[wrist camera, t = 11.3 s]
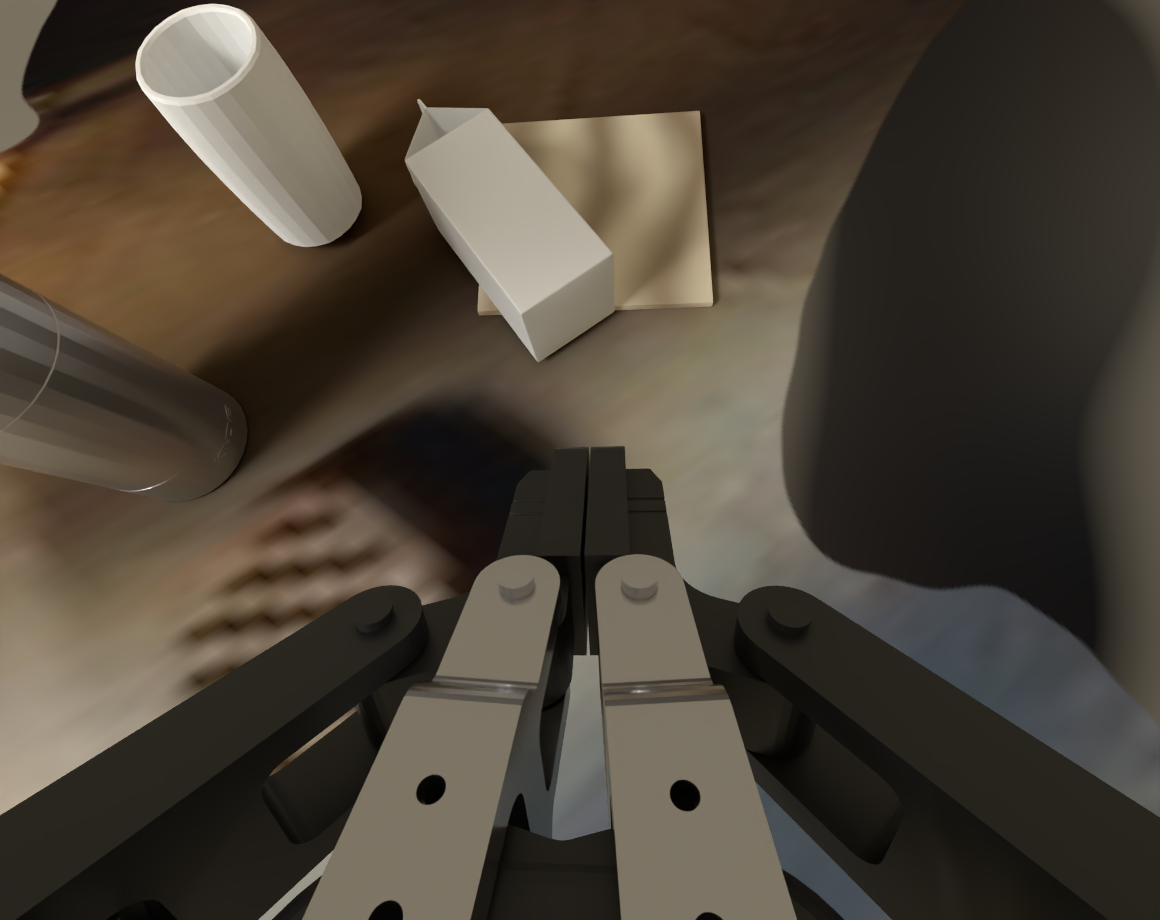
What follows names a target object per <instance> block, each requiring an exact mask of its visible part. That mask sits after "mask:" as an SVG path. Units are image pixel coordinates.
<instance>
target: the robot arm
mask: <svg viewBox="0 0 1160 920" xmlns="http://www.w3.org/2000/svg"><path fill="white" fill-rule="evenodd" d="M246 442H247V423H246V417H245V415H244V412H243V410H242V408H241V406H240V405H239V404H238V402H237V401H236V400H235V399H234V398H233V397H232V396H230V395H229V394H228V393H226V392H225V391H223V390H221V389H219V388H217V387H215V386H213V385H211V384H209V383H207V382H206V381H204V380H202V379H200V378H198V377H196V376H194V375H192V374H190V373H189V372H187V371H185V370H183V369H181V368H179V367H178V366H176V365H174V364H172V363H170V362H168V361H166V360H164V359H162V358H160V357H158V356H157V355H155V354H153V353H151V352H149V351H147V350H145V349H143V348H141V347H139V346H138V345H136V344H134V343H132V342H130V341H128V340H126V339H124V338H122V337H120V336H119V335H117V334H115V333H113V332H111V331H109V330H107V329H105V328H103V327H101V326H100V325H98V324H96V323H94V322H92V321H90V320H88V319H86V318H84V317H82V316H81V315H79V314H77V313H75V312H73V311H71V310H69V309H67V308H65V307H63V306H62V305H60V304H58V303H56V302H54V301H52V300H50V299H48V298H46V297H44V296H43V295H41V294H39V293H37V292H35V291H33V290H31V289H29V288H27V287H25V286H23V285H21V284H19V283H17V282H15V281H13V280H12V279H10V278H8V277H6V276H4V275H2V274H0V464H3V465H8V466H12V467H17V468H22V469H26V470H31V471H35V472H40V473H44V474H49V475H53V476H58V477H63V478H67V479H72V480H76V481H81V482H85V483H90V484H94V485H99V486H104V487H108V488H113V489H117V490H121V491H125V492H130V493H135V494H139V495H144V496H149V497H153V498H158V499H163V500H167V501H187V500H192V499H196V498H198V497H201V496H203V495H205V494H208V493H209V492H211V491H212V490H214V489H215V488H217V487H218V486H220V485H221V484H222V483H223V482H224V481H225V480H226V479H227V478H228V477H229V476H230V475H231V473H232V472H233V471H234V469H235V468H236V467H237V465H238V463H239V461H240V459H241V457H242V455H243V453H244V449H245V446H246ZM588 627H589V644H590V655H598V656H599V676H600V700H601V714H602V729H603V744H604V758H605V773H606V788H607V802H608V818H609V829H608V830H604V831H601V832H597V833H593V834H589V835H586V836H582V837H578V838H575V839H571V840H565V841H560V840H554V839H552V816H553V804H554V796H555V790H556V784H557V777H558V771H559V764H560V758H561V751H562V745H563V738H564V732H565V726H566V719H567V713H568V706H569V700H570V682H571V678H572V669H573V655H586V653H587V631H588ZM353 707H356V710H357V711H356V712H355V713H354V714H352V715H351V716H350V717H348V718H347V719H346V720H345V721H343V722H342V723H341V724H339V725H338V726H337V727H336V728H334V729H333V730H332V731H330V732H329V733H328V734H326V735H325V736H324V737H323V738H321V739H320V740H319V741H317V742H316V743H315V744H314V745H312V746H311V747H310V748H308V749H307V750H306V751H305V752H303V753H302V754H301V755H299V756H298V757H297V758H295V759H294V760H293V761H292V762H290V763H289V764H288V765H286V766H285V767H284V768H283V769H281V770H280V771H278V772H277V773H275V774H273V775H271V776H269V775H270V774H271V773H272V771H273V770H274V769H275V768H276V767H277V766H278V765H279V764H280V763H282V762H283V761H284V760H285V759H287V758H288V757H289V756H291V755H292V754H293V753H294V752H296V751H297V750H298V749H300V748H301V747H302V746H304V745H305V744H306V743H308V742H309V741H310V740H311V739H313V738H314V737H315V736H317V735H318V734H319V733H321V732H322V731H323V730H325V729H326V728H327V727H328V726H330V725H331V724H332V723H334V722H335V721H336V720H338V719H339V718H340V717H342V716H343V715H344V714H345V713H347V712H348V711H349V710H351V709H352V708H353ZM268 776H269V777H268ZM755 782H756V783H757V784H758V785H759V786H760V787H761V788H762V789H763V790H764V791H765V792H766V793H767V794H768V795H769V796H770V797H771V798H772V799H773V800H774V801H775V802H776V803H777V804H778V805H779V806H780V807H781V808H782V809H783V810H784V811H785V812H786V813H787V814H788V815H789V816H790V817H791V818H792V819H793V820H794V821H795V822H796V823H797V824H798V825H799V826H800V827H801V828H802V829H803V830H804V831H805V832H806V833H807V834H808V835H809V836H810V837H811V838H812V839H813V840H814V841H815V842H816V843H817V844H818V845H819V846H820V847H821V848H822V849H823V850H824V851H825V852H826V853H827V854H828V855H829V856H830V857H831V858H832V859H833V860H834V861H835V862H836V863H837V864H838V865H839V866H840V867H841V868H842V869H843V870H844V871H845V872H846V873H847V874H848V876H849V877H850V878H851V879H852V880H853V881H854V882H855V883H856V884H857V885H858V886H859V887H860V888H861V889H862V890H863V891H864V892H865V893H866V894H867V895H868V896H869V897H870V898H871V899H872V900H873V901H874V902H875V903H876V904H877V905H878V906H879V907H880V908H881V909H882V910H883V911H884V912H885V913H886V914H887V915H888V916H889V917H890V918H891V919H892V920H1160V817H1158V816H1157V815H1155V814H1154V813H1152V812H1150V811H1149V810H1147V809H1146V808H1144V807H1143V806H1141V805H1139V804H1138V803H1136V802H1135V801H1133V800H1132V799H1130V798H1129V797H1127V796H1125V795H1124V794H1122V793H1121V792H1119V791H1118V790H1116V789H1114V788H1113V787H1111V786H1110V785H1108V784H1107V783H1105V782H1103V781H1102V780H1100V779H1099V778H1097V777H1096V776H1094V775H1093V774H1091V773H1089V772H1088V771H1086V770H1085V769H1083V768H1082V767H1080V766H1078V765H1077V764H1075V763H1074V762H1072V761H1071V760H1069V759H1068V758H1066V757H1064V756H1063V755H1061V754H1060V753H1058V752H1057V751H1055V750H1053V749H1052V748H1050V747H1049V746H1047V745H1046V744H1044V743H1043V742H1041V741H1039V740H1038V739H1036V738H1035V737H1033V736H1032V735H1030V734H1028V733H1027V732H1025V731H1024V730H1022V729H1021V728H1019V727H1018V726H1016V725H1014V724H1013V723H1011V722H1010V721H1008V720H1007V719H1005V718H1003V717H1002V716H1000V715H999V714H997V713H996V712H994V711H993V710H991V709H989V708H988V707H986V706H985V705H983V704H982V703H980V702H978V701H977V700H975V699H974V698H972V697H971V696H969V695H968V694H966V693H964V692H963V691H961V690H960V689H958V688H957V687H955V686H953V685H952V684H950V683H949V682H947V681H946V680H944V679H943V678H941V677H939V676H938V675H936V674H935V673H933V672H932V671H930V670H928V669H927V668H925V667H924V666H922V665H921V664H919V663H918V662H916V661H914V660H913V659H911V658H910V657H908V656H907V655H905V654H903V653H902V652H900V651H899V650H897V649H896V648H894V647H893V646H891V645H889V644H888V643H886V642H885V641H883V640H882V639H880V638H878V637H877V636H875V635H874V634H872V633H871V632H869V631H868V630H866V629H864V628H863V627H861V626H860V625H858V624H857V623H855V622H853V621H852V620H850V619H849V618H847V617H846V616H844V615H843V614H841V613H839V612H838V611H836V610H835V609H833V608H832V607H830V606H828V605H827V604H825V603H824V602H822V601H821V600H819V599H817V598H816V597H814V596H812V595H810V594H808V593H806V592H804V591H801V590H798V589H795V588H790V587H785V586H766V587H761V588H758V589H755V590H753V591H751V592H749V593H748V594H747V595H745V596H744V597H743V599H742V600H741V601H740V603H736V602H732V601H728V600H724V599H720V598H716V597H713V596H709V595H707V594H705V593H702V592H700V591H698V590H697V589H695V588H693V587H692V586H691V585H689V584H688V583H687V582H686V581H685V580H684V579H683V578H682V576H681V575H680V573H679V572H678V570H677V569H676V566H675V562H674V555H673V549H672V543H671V536H670V530H669V524H668V517H667V514H666V505H665V501H664V492H663V486H662V482H661V480H660V479H659V478H658V477H657V476H656V475H655V474H654V473H653V472H652V471H651V469H626V465H625V447H624V446H615V447H591V455H590V461H589V448H588V447H570V448H555V449H554V454H553V459H552V465H551V470H549V471H530V472H529V473H528V474H527V475H526V476H525V477H524V478H523V479H522V480H521V481H520V482H519V483H518V484H517V488H516V491H515V495H514V499H513V503H512V506H511V510H510V516H509V517H508V521H507V524H506V528H505V532H504V535H503V539H502V543H501V546H500V550H499V554H498V557H497V561H496V562H494V563H492V564H490V565H489V566H487V567H486V568H485V569H484V570H483V571H481V573H480V574H479V575H478V576H477V578H476V580H475V582H474V584H473V587H472V589H471V591H469V592H468V593H465V594H463V595H460V596H458V597H454V598H451V599H447V600H443V601H439V602H435V603H431V604H427V605H423V606H422V604H421V600H420V599H419V597H418V595H417V594H416V593H415V592H413V591H412V590H410V589H408V588H405V587H401V586H392V585H389V586H380V587H375V588H372V589H368V590H365V591H363V592H361V593H359V594H357V595H355V596H353V597H351V598H350V599H348V600H346V601H345V602H343V603H342V604H340V605H338V606H337V607H335V608H334V609H332V610H330V611H329V612H327V613H326V614H324V615H322V616H321V617H319V618H317V619H316V620H314V621H313V622H311V623H309V624H308V625H306V626H305V627H303V628H301V629H300V630H298V631H297V632H295V633H293V634H292V635H290V636H288V637H287V638H285V639H284V640H282V641H280V642H279V643H277V644H276V645H274V646H272V647H271V648H269V649H268V650H266V651H264V652H263V653H261V654H259V655H258V656H256V657H255V658H253V659H251V660H250V661H248V662H247V663H245V664H243V665H242V666H240V667H239V668H237V669H235V670H234V671H232V672H230V673H229V674H227V675H226V676H224V677H222V678H221V679H219V680H218V681H216V682H214V683H213V684H211V685H210V686H208V687H206V688H205V689H203V690H201V691H200V692H198V693H197V694H195V695H193V696H192V697H190V698H189V699H187V700H185V701H184V702H182V703H181V704H179V705H177V706H176V707H174V708H172V709H171V710H169V711H168V712H166V713H164V714H163V715H161V716H160V717H158V718H156V719H155V720H153V721H152V722H150V723H148V724H147V725H145V726H143V727H142V728H140V729H139V730H137V731H135V732H134V733H132V734H131V735H129V736H127V737H126V738H124V739H123V740H121V741H119V742H118V743H116V744H114V745H113V746H111V747H110V748H108V749H106V750H105V751H103V752H102V753H100V754H98V755H97V756H95V757H94V758H92V759H90V760H89V761H87V762H86V763H84V764H82V765H81V766H79V767H77V768H76V769H74V770H73V771H71V772H69V773H68V774H66V775H65V776H63V777H61V778H60V779H58V780H57V781H55V782H53V783H52V784H50V785H48V786H47V787H45V788H44V789H42V790H40V791H39V792H37V793H36V794H34V795H32V796H31V797H29V798H28V799H26V800H24V801H23V802H21V803H19V804H18V805H16V806H15V807H13V808H11V809H10V810H8V811H7V812H5V813H3V814H2V815H0V920H258V919H259V918H260V917H261V916H263V915H264V914H265V913H266V912H267V911H268V910H269V909H270V908H271V907H272V906H273V905H274V904H276V903H277V902H278V901H279V900H280V899H281V898H282V897H283V896H284V895H285V894H286V893H287V892H288V891H290V890H291V889H292V888H293V887H294V886H295V885H296V884H297V883H298V882H299V881H300V880H301V879H302V878H304V877H305V876H306V875H307V874H308V873H309V872H310V871H311V870H312V869H313V868H314V867H315V866H317V865H318V864H319V863H320V862H321V861H322V860H323V859H324V858H325V857H326V856H327V855H328V854H329V853H331V852H332V851H333V850H334V851H333V853H332V855H331V857H330V860H329V862H328V864H327V866H326V868H325V871H324V873H323V875H322V876H321V877H319V878H318V879H317V880H315V881H314V882H313V883H312V884H311V885H309V886H308V887H307V888H306V889H304V890H303V891H302V892H301V893H300V894H298V895H297V896H296V897H295V898H294V899H293V900H292V901H291V902H290V903H289V904H288V905H287V906H286V907H285V908H284V909H283V910H281V911H280V912H279V913H278V914H277V915H276V916H275V917H274V918H273V919H272V920H844V919H843V918H842V917H841V916H840V915H839V914H838V913H837V912H836V911H835V910H834V909H833V908H832V907H831V906H829V905H828V904H827V903H826V902H825V901H824V900H823V899H822V898H821V897H820V896H819V895H818V894H817V893H815V892H814V891H813V890H811V889H810V888H809V887H807V886H806V885H805V884H803V883H802V882H801V881H800V880H798V879H797V878H796V877H794V876H792V875H791V874H789V873H788V872H786V871H784V870H783V869H781V866H780V862H779V859H778V856H777V852H776V849H775V846H774V842H773V839H772V836H771V833H770V829H769V826H768V823H767V819H766V816H765V813H764V810H763V806H762V803H761V800H760V796H759V793H758V790H757V787H756V783H755Z"/></svg>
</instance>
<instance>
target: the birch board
mask: <svg viewBox="0 0 1160 920" xmlns="http://www.w3.org/2000/svg"><path fill="white" fill-rule="evenodd" d="M502 125H503V126H504V127H505V128H506V129H507V131H508V132H509V133H510V134H511V135H512V136H513V138H514V139H515V140H516V141H517V142H518V143H519V144H520V146H521V147H522V148H523V149H524V150H525V151H526V153H527V154H528V155H529V156H530V157H531V158H532V160H533V161H534V162H535V163H536V164H537V165H538V167H539V168H540V169H541V170H542V171H543V172H544V174H545V175H546V176H547V177H548V178H549V179H550V181H551V182H552V183H553V184H554V185H555V186H556V187H557V189H558V190H559V191H560V192H561V193H562V194H563V196H564V197H565V198H566V199H567V200H568V201H569V203H570V204H571V205H572V206H573V207H574V208H575V210H576V211H577V212H578V213H579V214H580V215H581V217H582V218H583V219H584V220H585V221H586V222H587V224H588V225H589V226H590V227H591V228H592V229H593V230H594V232H595V233H596V234H597V235H598V236H599V237H600V239H601V240H602V241H603V242H604V243H605V244H606V246H607V247H608V248H609V249H610V250H611V252H612V253H613V256H614V293H615V310H635V309H661V308H687V307H712V304H713V293H712V279H711V265H710V250H709V236H708V222H707V208H706V194H705V179H704V165H703V151H702V137H701V123H700V111H690V112H674V113H659V114H644V115H628V116H613V117H597V118H582V119H567V120H551V121H536V122H521V123H505V124H502ZM478 313H479V315H502V314H501V313H500V311H499V310H498V309H497V307H496V306H495V305H494V303H493V302H492V301H491V299H490V298H489V297H488V295H487V294H486V293H485V291H484V290H483V289H482V287H481V286H480V285H479V294H478Z"/></svg>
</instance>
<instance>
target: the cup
mask: <svg viewBox="0 0 1160 920" xmlns="http://www.w3.org/2000/svg"><path fill="white" fill-rule="evenodd" d="M136 76H137V81H138V83H139V85H140V87H141V89H142V90H143V92H144V93H145V94H146V95H147V96H148V98H149V99H150V100H151V101H152V103H153V104H154V105H155V106H156V108H157V109H158V110H159V111H160V112H161V114H162V115H163V116H164V117H165V119H166V120H167V121H168V122H169V123H170V125H171V126H172V127H173V128H174V129H175V131H176V132H177V133H178V134H179V135H180V136H181V137H182V138H183V140H184V141H185V142H186V143H187V144H188V145H189V146H190V147H191V149H192V150H193V151H194V152H195V153H196V154H197V155H198V157H199V158H200V159H201V160H202V161H203V162H204V163H205V164H206V165H207V166H208V167H209V168H210V169H211V170H212V171H213V172H214V173H215V174H216V175H217V176H218V177H219V178H220V179H221V180H222V181H223V183H224V184H225V185H226V186H227V187H228V188H229V189H230V190H231V191H232V192H233V193H234V194H235V195H236V196H237V197H238V198H239V199H240V200H241V201H242V202H243V203H244V204H245V205H246V206H247V207H248V208H249V209H250V210H251V211H252V212H254V213H255V214H256V215H257V216H258V217H259V218H260V219H261V220H262V221H263V222H264V223H265V224H266V225H267V226H268V227H269V228H270V229H271V230H273V231H274V232H275V233H276V234H277V235H278V236H279V237H280V238H282V239H283V240H284V241H286V242H288V243H290V244H293V245H296V246H302V247H313V246H320V245H324V244H327V243H330V242H332V241H334V240H335V239H337V238H339V237H340V236H341V235H343V234H344V233H345V232H346V231H347V230H348V229H349V228H350V227H351V226H352V224H353V223H354V222H355V220H356V219H357V217H358V215H359V212H360V210H361V206H362V196H361V192H360V188H359V186H358V184H357V182H356V180H355V178H354V176H353V174H352V172H351V170H350V169H349V167H348V165H347V163H346V161H345V160H344V158H343V156H342V154H341V152H340V151H339V149H338V147H337V145H336V144H335V142H334V140H333V139H332V137H331V135H330V133H329V132H328V130H327V128H326V127H325V125H324V123H323V122H322V120H321V119H320V117H319V115H318V114H317V112H316V110H315V109H314V107H313V106H312V104H311V102H310V101H309V99H308V97H307V96H306V94H305V93H304V91H303V89H302V88H301V86H300V85H299V83H298V82H297V81H296V79H295V78H294V76H293V75H292V73H291V72H290V70H289V69H288V67H287V66H286V64H285V63H284V61H283V60H282V58H281V57H280V55H279V54H278V53H277V51H276V50H275V49H274V47H273V46H272V45H271V43H270V42H269V41H268V39H267V38H266V36H265V35H264V34H263V32H262V31H261V30H260V28H259V27H258V26H257V24H256V23H255V22H254V20H253V19H252V18H251V17H250V16H249V15H248V14H246V13H245V12H244V11H242V10H240V9H237V8H234V7H231V6H228V5H220V4H206V5H198V6H194V7H190V8H187V9H183V10H181V11H179V12H177V13H175V14H174V15H172V16H170V17H168V18H167V19H165V20H164V21H163V22H162V23H160V24H159V25H158V26H156V27H155V28H154V29H153V30H152V32H151V33H150V34H149V35H148V36H147V37H146V38H145V40H144V42H143V43H142V45H141V47H140V48H139V50H138V53H137V58H136Z"/></svg>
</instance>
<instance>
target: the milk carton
mask: <svg viewBox="0 0 1160 920" xmlns="http://www.w3.org/2000/svg"><path fill="white" fill-rule="evenodd" d="M417 101H418V104H419V106H420V109H421V111H422V116H421V119H420V121H419V124H418V127H417V129H416V132H415V134H414V137H413V139H412V142H411V144H410V147H409V149H408V152H407V154H406V157H405V163H406V165H407V168H408V170H409V172H410V174H411V176H412V180H413V182H414V184H415V186H416V187H417V188H418V190H419V192H420V194H421V196H422V198H423V200H424V202H425V204H426V206H427V208H428V210H429V212H430V214H431V217H432V219H433V221H434V223H435V224H436V226H437V228H438V230H439V231H440V233H441V234H442V235H443V237H444V238H445V240H446V241H447V242H448V244H449V245H450V246H451V248H452V249H453V250H454V251H455V253H456V254H457V255H458V257H459V258H460V259H461V261H462V262H463V263H464V265H465V266H466V267H467V269H468V270H469V271H470V273H471V274H472V275H473V277H474V278H475V279H476V281H477V282H478V283H479V285H480V286H481V287H482V289H483V290H484V291H485V293H486V294H487V295H488V297H489V298H490V299H491V301H492V302H493V303H494V305H495V306H496V307H497V309H498V310H499V311H500V313H501V314H502V315H503V317H504V318H505V319H506V321H507V322H508V323H509V325H510V326H511V327H512V329H513V330H514V331H515V333H516V334H517V335H518V337H519V338H520V339H521V341H522V342H523V343H524V345H525V346H526V347H527V349H528V350H529V351H530V353H531V354H532V355H533V357H534V358H535V359H536V361H537V362H540V361H541V360H543V359H544V358H546V357H547V356H549V355H550V354H552V353H553V352H555V351H556V350H558V349H559V348H561V347H562V346H564V345H565V344H567V343H568V342H570V341H571V340H573V339H574V338H576V337H577V336H579V335H580V334H582V333H583V332H585V331H586V330H588V329H589V328H591V327H592V326H594V325H595V324H597V323H598V322H600V321H601V320H602V319H604V318H605V317H607V316H608V315H610V314H611V313H613V312H614V311H615V293H614V256H613V253H612V252H611V250H610V249H609V248H608V247H607V246H606V244H605V243H604V242H603V241H602V240H601V239H600V237H599V236H598V235H597V234H596V233H595V232H594V230H593V229H592V228H591V227H590V226H589V225H588V224H587V222H586V221H585V220H584V219H583V218H582V217H581V215H580V214H579V213H578V212H577V211H576V210H575V208H574V207H573V206H572V205H571V204H570V203H569V201H568V200H567V199H566V198H565V197H564V196H563V194H562V193H561V192H560V191H559V190H558V189H557V187H556V186H555V185H554V184H553V183H552V182H551V181H550V179H549V178H548V177H547V176H546V175H545V174H544V172H543V171H542V170H541V169H540V168H539V167H538V165H537V164H536V163H535V162H534V161H533V160H532V158H531V157H530V156H529V155H528V154H527V153H526V151H525V150H524V149H523V148H522V147H521V146H520V144H519V143H518V142H517V141H516V140H515V139H514V138H513V136H512V135H511V134H510V133H509V132H508V131H507V129H506V128H505V127H504V126H503V125H502V124H501V122H500V121H499V120H498V119H497V118H496V117H495V115H494V114H493V113H492V112H491V111H490V110H489V108H427V107H426V106H425V105H424V104H423V102H422V101H421V100H420V99H418V100H417Z"/></svg>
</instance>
